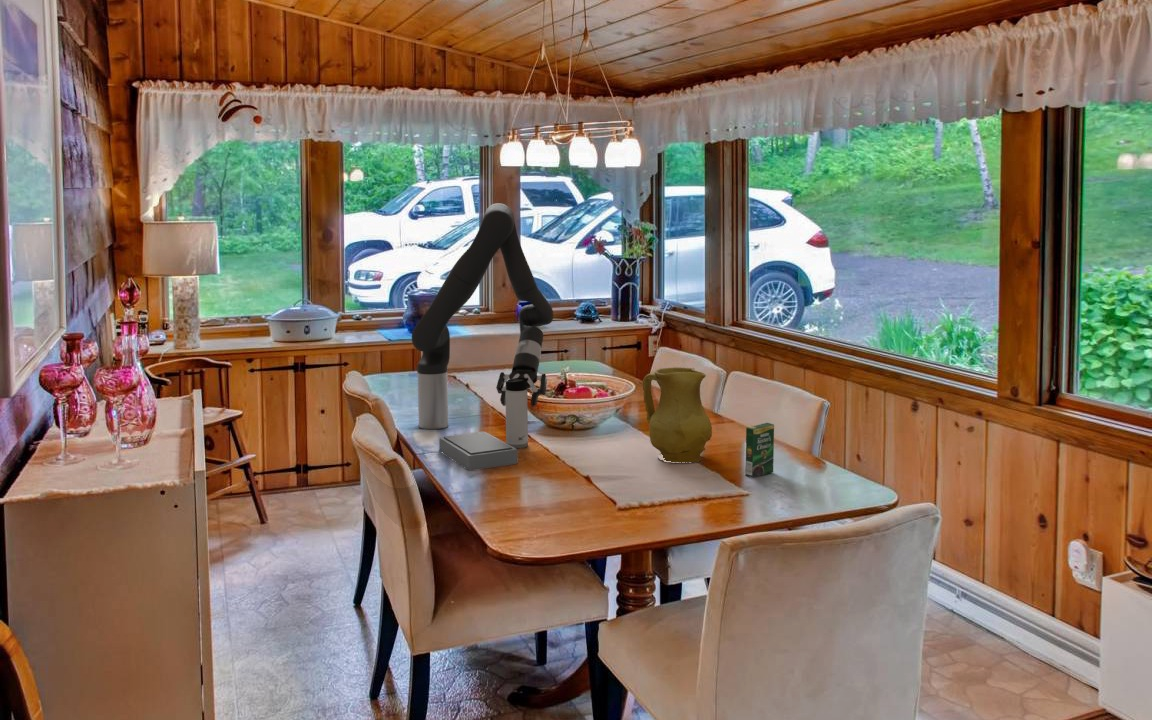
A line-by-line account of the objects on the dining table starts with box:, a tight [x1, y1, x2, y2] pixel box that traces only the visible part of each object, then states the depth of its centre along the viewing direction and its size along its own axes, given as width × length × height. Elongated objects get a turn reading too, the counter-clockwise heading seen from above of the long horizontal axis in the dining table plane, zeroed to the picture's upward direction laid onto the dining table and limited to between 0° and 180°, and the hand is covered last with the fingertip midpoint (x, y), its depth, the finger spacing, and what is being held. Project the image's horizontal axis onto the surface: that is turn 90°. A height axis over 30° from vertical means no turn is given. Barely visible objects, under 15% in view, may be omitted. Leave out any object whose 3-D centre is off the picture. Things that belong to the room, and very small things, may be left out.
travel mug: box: [505, 378, 529, 449], centre depth 283 cm, size 6×7×20 cm
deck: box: [438, 431, 518, 472], centre depth 272 cm, size 22×14×4 cm, turn 28°
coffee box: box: [744, 422, 775, 479], centre depth 255 cm, size 8×3×13 cm, turn 126°
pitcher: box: [642, 366, 713, 464], centre depth 271 cm, size 17×19×25 cm
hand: (517, 405), depth 283 cm, fingers open, 8 cm apart
